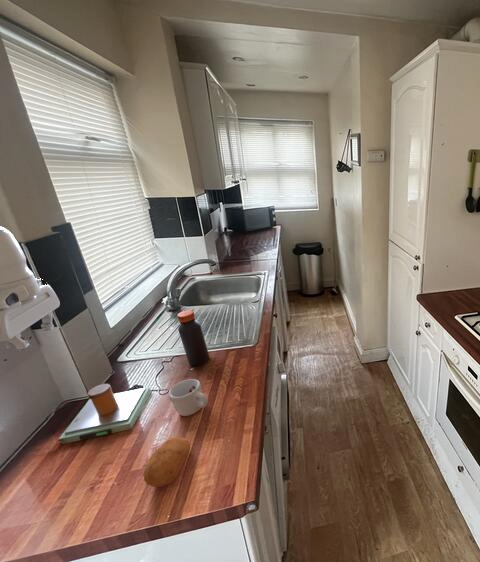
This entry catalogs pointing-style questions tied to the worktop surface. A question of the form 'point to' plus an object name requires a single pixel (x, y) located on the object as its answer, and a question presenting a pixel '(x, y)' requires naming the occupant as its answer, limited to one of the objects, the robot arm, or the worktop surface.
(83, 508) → the worktop surface
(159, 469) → the potato
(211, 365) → the worktop surface
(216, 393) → the worktop surface
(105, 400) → the spice jar
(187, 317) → the bottle
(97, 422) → the scale
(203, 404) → the cup
